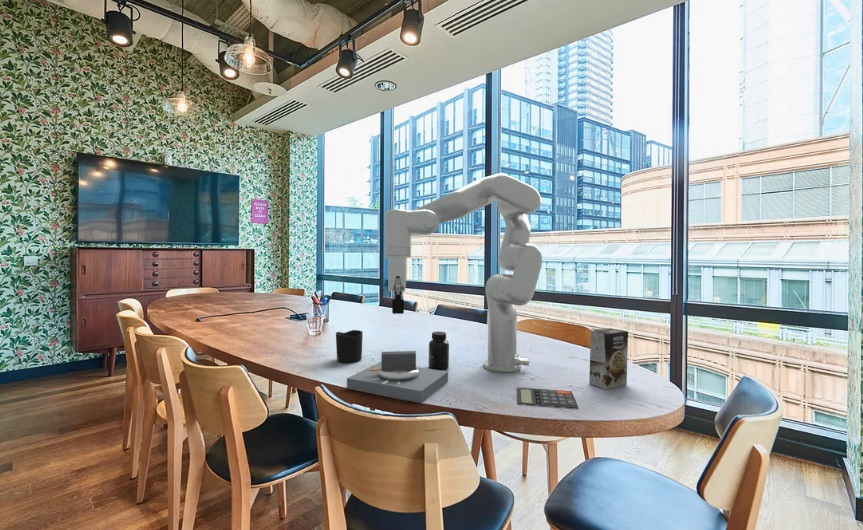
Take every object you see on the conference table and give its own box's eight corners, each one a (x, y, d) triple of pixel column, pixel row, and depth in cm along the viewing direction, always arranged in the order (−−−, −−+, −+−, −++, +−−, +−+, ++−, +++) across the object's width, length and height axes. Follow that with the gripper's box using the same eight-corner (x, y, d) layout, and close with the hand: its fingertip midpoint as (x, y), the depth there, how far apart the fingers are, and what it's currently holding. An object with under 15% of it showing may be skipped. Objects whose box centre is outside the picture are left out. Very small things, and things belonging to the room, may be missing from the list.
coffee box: (606, 390, 114) (608, 334, 113) (588, 383, 119) (589, 329, 118) (627, 385, 118) (629, 331, 117) (609, 378, 123) (610, 327, 123)
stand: (448, 381, 121) (448, 370, 121) (421, 402, 105) (421, 390, 104) (380, 370, 131) (380, 361, 131) (346, 388, 115) (346, 377, 115)
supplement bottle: (425, 369, 132) (425, 333, 132) (433, 364, 139) (433, 330, 138) (444, 372, 130) (444, 335, 129) (451, 366, 136) (451, 331, 135)
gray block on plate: (418, 367, 124) (418, 347, 124) (420, 380, 112) (420, 357, 112) (371, 368, 123) (370, 348, 123) (368, 381, 111) (368, 359, 111)
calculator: (578, 406, 100) (517, 402, 103) (578, 410, 100) (517, 405, 103) (571, 390, 112) (517, 386, 115) (571, 393, 112) (517, 389, 115)
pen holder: (341, 356, 149) (341, 329, 148) (366, 357, 148) (365, 330, 147) (331, 363, 140) (331, 335, 139) (357, 364, 138) (357, 335, 138)
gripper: (385, 252, 124) (386, 306, 125) (384, 252, 107) (384, 316, 108) (410, 252, 125) (410, 306, 126) (411, 252, 108) (411, 315, 108)
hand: (398, 310), depth 117 cm, fingers open, 9 cm apart
